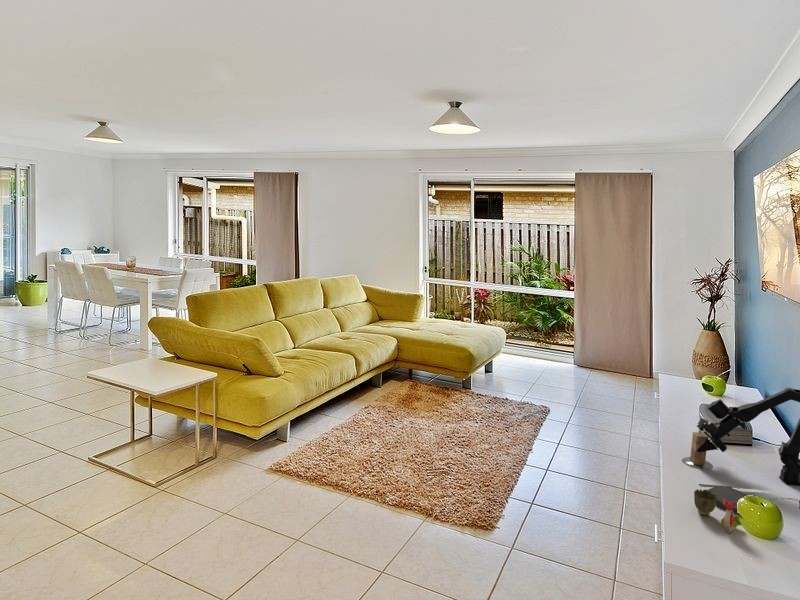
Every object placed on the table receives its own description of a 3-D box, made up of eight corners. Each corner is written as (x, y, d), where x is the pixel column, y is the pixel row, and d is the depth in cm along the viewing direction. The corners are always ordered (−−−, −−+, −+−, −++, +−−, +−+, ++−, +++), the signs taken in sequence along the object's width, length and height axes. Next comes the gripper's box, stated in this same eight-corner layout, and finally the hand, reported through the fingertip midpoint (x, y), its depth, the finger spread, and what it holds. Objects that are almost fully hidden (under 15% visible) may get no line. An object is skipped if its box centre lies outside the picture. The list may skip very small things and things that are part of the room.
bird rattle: (738, 541, 181) (742, 521, 187) (740, 519, 176) (744, 499, 182) (717, 535, 185) (722, 515, 191) (718, 513, 180) (723, 493, 186)
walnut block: (700, 460, 235) (703, 432, 233) (704, 465, 230) (707, 436, 228) (690, 459, 235) (692, 432, 233) (694, 464, 231) (696, 436, 229)
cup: (687, 510, 196) (689, 490, 195) (702, 507, 199) (704, 487, 198) (705, 521, 189) (707, 500, 188) (720, 517, 192) (722, 497, 191)
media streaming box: (699, 497, 206) (700, 490, 206) (724, 490, 212) (725, 483, 212) (736, 516, 193) (737, 509, 193) (762, 508, 199) (762, 501, 199)
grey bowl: (706, 460, 238) (707, 449, 237) (717, 472, 226) (718, 461, 226) (677, 458, 240) (678, 447, 239) (687, 470, 228) (688, 459, 227)
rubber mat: (721, 477, 222) (721, 476, 222) (732, 489, 213) (732, 487, 213) (691, 474, 224) (691, 473, 224) (700, 486, 215) (700, 485, 214)
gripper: (703, 406, 238) (675, 427, 241) (721, 421, 220) (690, 444, 223) (720, 423, 238) (692, 445, 241) (740, 440, 220) (709, 463, 223)
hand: (695, 449), depth 232 cm, fingers closed on walnut block, 4 cm apart
